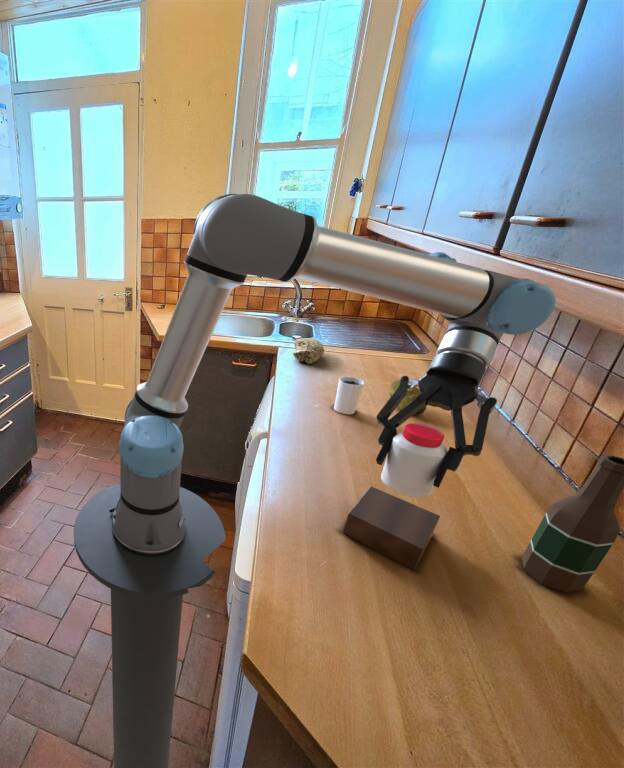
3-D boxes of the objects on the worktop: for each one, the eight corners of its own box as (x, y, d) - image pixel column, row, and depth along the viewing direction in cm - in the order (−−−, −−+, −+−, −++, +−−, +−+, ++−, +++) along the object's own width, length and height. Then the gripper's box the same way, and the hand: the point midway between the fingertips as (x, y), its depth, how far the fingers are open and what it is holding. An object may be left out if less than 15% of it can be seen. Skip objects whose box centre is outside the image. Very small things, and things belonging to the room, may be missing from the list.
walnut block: (342, 532, 80) (348, 513, 78) (365, 504, 87) (370, 486, 85) (414, 570, 72) (422, 549, 70) (432, 535, 79) (440, 515, 77)
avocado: (392, 414, 123) (400, 391, 120) (383, 397, 134) (390, 374, 130) (425, 419, 120) (433, 395, 117) (413, 401, 131) (420, 378, 128)
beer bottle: (588, 581, 69) (667, 465, 59) (572, 602, 66) (652, 483, 56) (528, 550, 75) (590, 441, 65) (511, 568, 72) (573, 455, 62)
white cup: (330, 403, 130) (337, 375, 126) (354, 406, 128) (361, 377, 124) (333, 413, 124) (341, 383, 120) (358, 416, 122) (366, 386, 118)
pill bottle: (370, 473, 76) (386, 422, 71) (406, 468, 77) (424, 417, 73) (404, 500, 69) (424, 446, 64) (443, 494, 70) (465, 440, 66)
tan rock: (317, 369, 159) (331, 346, 171) (316, 351, 156) (331, 329, 168) (283, 367, 168) (299, 345, 180) (281, 350, 165) (298, 329, 177)
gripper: (535, 388, 68) (481, 508, 65) (394, 357, 82) (345, 454, 79) (545, 367, 63) (487, 497, 60) (393, 337, 77) (340, 441, 74)
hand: (406, 472), depth 69 cm, fingers closed on pill bottle, 8 cm apart
